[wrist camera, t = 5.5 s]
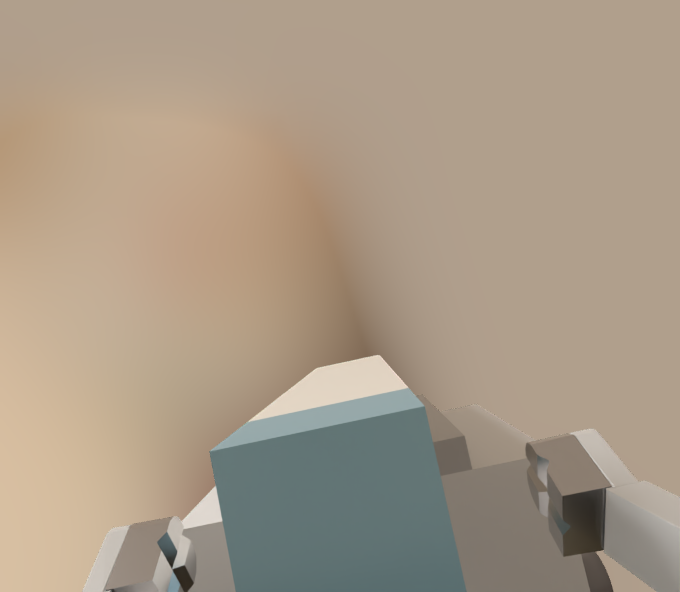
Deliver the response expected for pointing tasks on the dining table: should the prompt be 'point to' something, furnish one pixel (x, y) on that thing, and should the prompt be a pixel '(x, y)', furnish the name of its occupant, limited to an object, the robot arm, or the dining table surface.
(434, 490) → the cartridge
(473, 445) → the housing
